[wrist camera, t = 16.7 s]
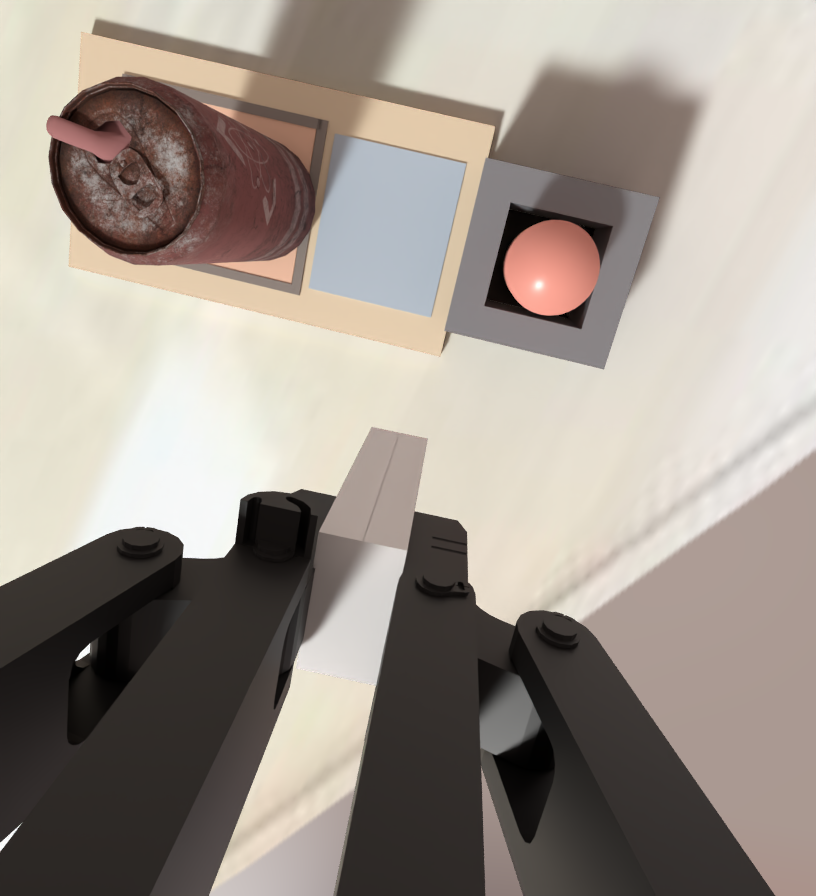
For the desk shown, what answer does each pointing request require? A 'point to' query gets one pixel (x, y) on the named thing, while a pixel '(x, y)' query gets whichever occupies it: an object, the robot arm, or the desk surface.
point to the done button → (551, 267)
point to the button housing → (559, 198)
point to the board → (326, 201)
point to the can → (174, 178)
